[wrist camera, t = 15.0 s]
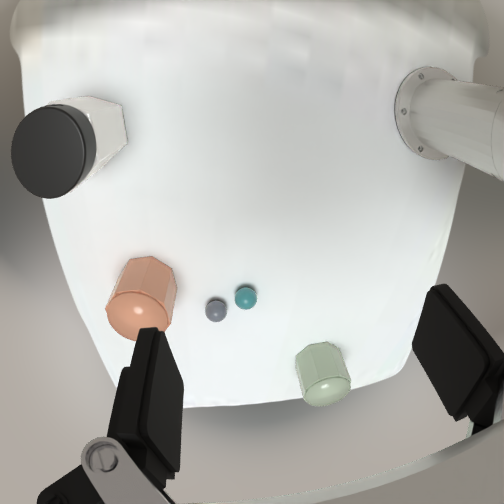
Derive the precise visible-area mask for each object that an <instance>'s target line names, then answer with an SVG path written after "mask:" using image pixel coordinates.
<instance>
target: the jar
mask: <svg viewBox="0 0 504 504" xmlns="http://www.w3.org/2000/svg"><path fill="white" fill-rule="evenodd" d="M127 143H128V140H127V135H126V130H125V124H124V118H123V112H122V106H121V105H118V104H115V103H111V102H108V101H105V100H101V99H98V98H94V97H90V96H84V97H76V98H69V99H62V100H56V101H51V102H49V103H48V105H46V106H44V107H40V108H38V109H36V110H34V111H32V112H31V113H29V114H28V115H27V116H26V117H25V118H24V119H23V120H22V121H21V122H20V124H19V125H18V127H17V129H16V131H15V134H14V137H13V141H12V146H11V159H12V164H13V168H14V171H15V174H16V176H17V178H18V179H19V181H20V182H21V184H22V185H23V186H24V187H25V188H26V189H27V190H28V191H29V192H31V193H32V194H34V195H36V196H38V197H41V198H47V199H52V198H58V197H61V196H63V195H65V194H67V193H68V192H72V191H73V190H74V189H76V188H77V187H78V186H79V185H81V184H82V183H83V182H84V181H86V180H87V179H88V178H90V177H91V176H92V175H93V174H95V173H96V172H97V171H99V170H100V169H101V168H103V167H104V166H105V165H106V164H107V163H108V162H109V161H110V160H111V159H112V158H113V157H114V156H115V155H116V154H117V153H118V152H119V151H120V150H121V149H122V148H123V147H124V146H125V145H126V144H127Z"/></svg>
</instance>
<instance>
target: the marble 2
mask: <svg viewBox="0 0 504 504" xmlns="http://www.w3.org/2000/svg"><path fill="white" fill-rule="evenodd" d="M256 302H257V295H256V293H255V292H254V291H253V290H252V289H251V288H247V287H245V288H241V289H239V290H238V291H237V292H236V294H235V303H236V305H237V306H238V307H239V308H241V309H245V310H247V309H251V308H252V307H254V305H255V304H256Z"/></svg>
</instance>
